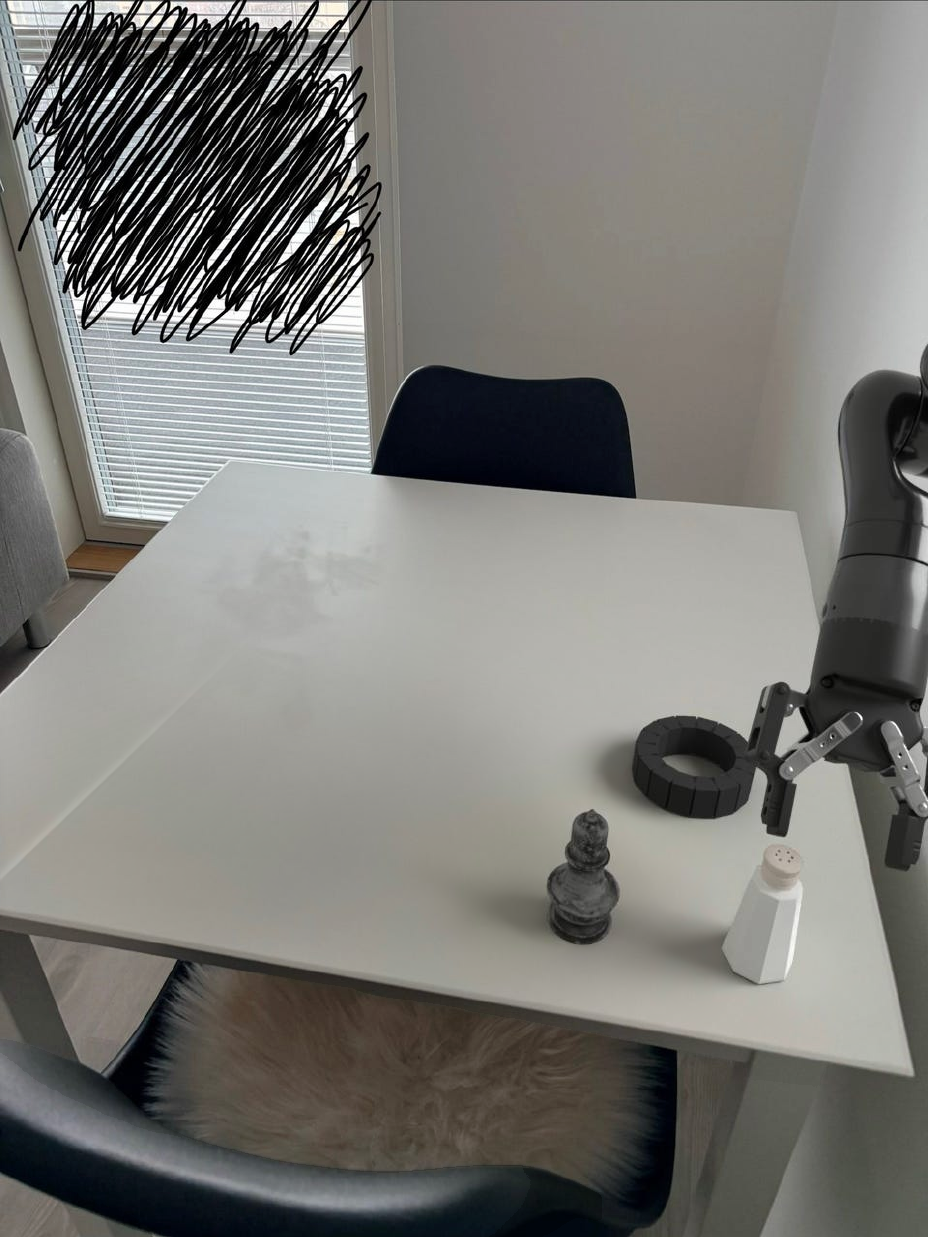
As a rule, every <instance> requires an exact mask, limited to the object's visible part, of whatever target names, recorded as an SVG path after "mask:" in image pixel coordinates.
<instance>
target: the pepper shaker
mask: <svg viewBox="0 0 928 1237" xmlns="http://www.w3.org/2000/svg"><path fill="white" fill-rule="evenodd" d="M762 856H763V857H762V858H763V859H762V862H761V865H757V866H756V868H755V870H754V872H753V874H752V875H751V877H750V880H749V882H748V884H747V886H746V888H745V891H744V893H743V896H742V897H741V900H740V903H739V905H738V908H737V910H736V913H735V915H734V917H733V920H732V922H731V925H730V927H729V930H728V932H727V934H726V936H725V939H724V941H723V944H722V946H721V951H722V953H723V954H724V956H725V959H726V961H727V962H728V964H729V966H730V969H731V970H732V972H734V973H736V974H738V975H740V976H742V977H743V978H745V979H747V980H749V981H751V982H753V983H755V984H757V985H763V984H770V983H777V982H784V981H785V979H786V977H787V975H788V974H789V971H790V968H791V967H792V964H793V962H794V955H795V954H794V953H795V948H796V940H797V934H798V928H799V927H798V926H799V919H800V913H801V905H802V900H803V894H804V893H803V892H804V885H803V884H802V882H801V881H800V879H799V878H800V875H801V872H802V870H803V868H804V865H805V864H804V859H803V856H802V855H801V854H800V853H799V852H798V851H797V850H796V849H795V848H792V847H790V846H788V845H786V844H780V843H778V844H777V843H776V844H771V845H769V846H768V847H766V848H765V849H764V851H763V855H762Z"/></svg>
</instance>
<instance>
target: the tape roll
mask: <svg viewBox="0 0 928 1237" xmlns="http://www.w3.org/2000/svg"><path fill="white" fill-rule="evenodd" d="M747 744H748V740H746V738H745V737H743V735H742V734H741V733H738V731H736V730H735V729H733V728H731V727H729V726H727V725H725V724H723V723H721V722H719V721H716V720H712V719H708V718H705V717H701V716H695V715H671V716H665V717H662V718H657V719H656V720H655V719H654V720H653V721H652V722H650V723H648V724H647V725H646V726H644V727H642V728H641V730H640V732H639V733H638V735H637V737H636V740H635V745H634V752H633V759H632V765H631V771H632V777H633V783H634V784H635V786H636V787H637V789H638V790H639V791H640V792H641V794H642V795H643V796H644V797H645V798H647V800H649V801H650V802H652V803H653V804H654V805H656V806H658V807H659V808H661V809H663V810H666V811H667V812H670V813H672V814H676V815H679V816H683V817H685V818H690V819H704V820H705V819H706V820H713V819H719V818H722V817H727V816H729V815H730V816H731V815H733V814H734V813H736V812H738V811H739V810H740V809H741V808H742V807H744V806H745V805H746V804H747V803H748V801H749V799H750V795H751V792H752V787H753V784H754V779H755V775H756V771H757V767H756V766H754V765H751V764H749V763H747V762H746V760H745V751H746V748H747ZM673 755H691V756H692V755H693V756H695V757H699V758H703V759H706V760H708V761H710V762H711V763H713V764H715V765H717V766H718V767H719V768H720V770H722V771H723V772H724V773H721V774H716V775H713V776H704V775H702V776H701V775H693V774H689V773H686V772H684V771H683V772H682V771H679V770H677V769H676V768H674V767H672V766H671V765H669V764H668V763H666V761H665V760H664V758H665V757H669V756H673Z"/></svg>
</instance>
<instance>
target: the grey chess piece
mask: <svg viewBox="0 0 928 1237" xmlns="http://www.w3.org/2000/svg"><path fill="white" fill-rule="evenodd" d="M609 828H610V827H609V823H608V821H607V819H606V818H605V817H604V816H602V815H601V814H600V813H598V812H597V811H596V810H595V809H594V808H591V809H590V810H588V811H583V812H581V813H579V814H578V815H577V816H575V818H574V819H573V821H572V824H571V834H570V841H569V842H568V843H566V845H565V848H564V857H565V859H566V861H567V862H563V863H561V864H560V865H557V866H556V867H555V868H554V869H552V871H551V872H550V873H549V875H548V877H547V880H546V891H547V895H548V897H549V899H550V901H551V903H550V905H549V907H548V909H547V919H548V920H547V922H548V925H549V927H550V928H551V930H552V931H553V932H554V933H555V934H556V935H557V936H558V937H559V938H561V939H563V940H564V941H566V942H569V943H571V944H576V945H591V944H595V943H598V942H600V941H601V940H603V939H605V938H606V937H607V935H608V934H609V933H610V931H611V928H612V923H613V918H612V914H611V912H612V911H613V910H614V908H616V906H617V905H618V902H619V900H620V896H621V895H620V892H621V889H620V886H619V882H618V881H617V879H616V877H615V876H614V875H613V874H612V873H611V872H610V871H609V870H608V869H606V867H607V866H608V865H609V862H610V860H611V852H610V850H609V848H608V839H609V838H608V837H609V830H610V829H609Z"/></svg>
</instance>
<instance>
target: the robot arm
mask: <svg viewBox="0 0 928 1237" xmlns="http://www.w3.org/2000/svg"><path fill="white" fill-rule="evenodd" d="M920 356H921V357H920V361H919V372H920V374H919V375H920V376H918V375H915V374H911V373H908V372H903V371H899V370H895V369H878V370H874V371H872V372H869V373H868V374H866V375H864V376H863V377H862V378H860V379H859V380H857V382H856V383H855V384H853V386H852V387H851V388H850V390H849V391H848V393H847V394H846V396H845V397H844V401H843V403H842V405H841V407H840V408H841V409H840V412H839V417H838V421H837V444H838V445H837V447H838V454H839V461H840V462H839V463H840V468H841V476H842V487H843V499H844V500H843V501H844V521H843V527H842V533H841V537H840V543H839V548H838V553H837V559H836V564H835V568H834V572H833V575H832V577H831V580H830V582H829V586H828V588H827V591H826V592H827V593H826V596H825V601H824V604H823V606H822V609H821V613H820V617H821V622H820V626H819V631H818V632H819V633H818V638H817V641H816V647H815V652H814V658H813V663H812V668H811V672H810V681H809V687H808V689H807V690H806V692H805V693H803V692H802V691H801V692H800V691H798V690H795V689H791V687H790V685H789V684H788V683H787V682H785V681H779V682H776V683H772V684H769V685H765V686H764V687H763V688H762V690H761V692H760V696H759V700H758V704H757V707H756V711H755V714H754V718H753V722H752V725H751V729H750V734H749V737H748V740H747V742H748V744H747V748H746V751H745V760H746V762H747V763H749V764H751V765H754V766H756V769H758V770H760V771H761V772H762V773H763V774H765V777H766V780H767V781H766V787H765V792H764V796H763V801H762V808H761V812H760V818H761V819H760V820H761V824H762V825H766V827H765V829H766V830H765V831H766V834H767V835H770V836H773V837H778V838H786V837H787V835H788V832H789V828H790V822H791V817H792V814H793V812H792V811H793V807H794V803H795V802H794V801H795V798H796V797H795V796H796V791H797V786H798V784H797V783H793V782H794V779H795V778H797V777H798V776H799V775H800V774H801V773H803V772H804V771H805V770H806V769H807V768H808V767H810V766H811V765H812V764H814V763H816V762H818V761H819V760H821V759H822V758H823V759H824V760H823V761H824V762H827V763H831V764H835V765H839V764H846V765H848V766H849V767H851V768H853V769H855V770H857V771H861V772H864V773H875V775H876V777H877V779H878V781H879V783H880V784H881V786H882V787H883V788H884V789H886V790H887V792H888V794H889V796H890V798H891V801H892V803H893V805H894V806H895V810H896V811H897V814H891V821H890V826H889V832H888V837H887V838H888V839H887V843H886V850H885V855H884V866H885V867H886V868H888V869H891V870H895V871H900V872H908V871H909V870H910V868H911V865H914V866H916V864H917V862H918V861H919V859H920V855H921V849H922V841H923V836H924V830H925V824H926V822H927V820H928V726H925V725H924V724H923V721H922V717H921V708H922V705H923V702H924V699H925V695H926V690H927V686H928V685H927V684H928V491H926V490H924V489H922V488H921V487H919V486H917V485H915V484H914V483H913V482H911V481H910V480H909V479H908V478H907V477H906V476H905V475H904V474H909V475H912V476H914V477H919V478H922V479H926V480H928V343H926V345H925V346H924V349H923V351H922V354H921V355H920ZM797 708H798V711H799V714H800V717H801V718H802V721H803V723H804V725H805V727H806V730H807V732H806V733H805V734H803V735H802V736H801V737H800V738H798V739H797V741H795V742H794V743H792V745H790V746H789V747H788V748H787V750H786V751H785V752H784V753H783V754H781V755H780V756H779V755H777V754H776V749H777V746H778V741H779V738H780V734H781V730H782V727H783V723H784V720H785V718H788V717H791V716H792V715H793V713H794V712H795V710H796V709H797ZM918 743H920V745H921V752H922V754H923V755H924V757H925V758H926V766H925V776H924V786H922V784H921V779H922V778H921V774H920V772H919V770H918V768H917V766H916V764H915V763H914V760H913V758H912V756H911V753H910V750H911V749H913V748H914V747H915V746H916V745H917V744H918Z"/></svg>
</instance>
